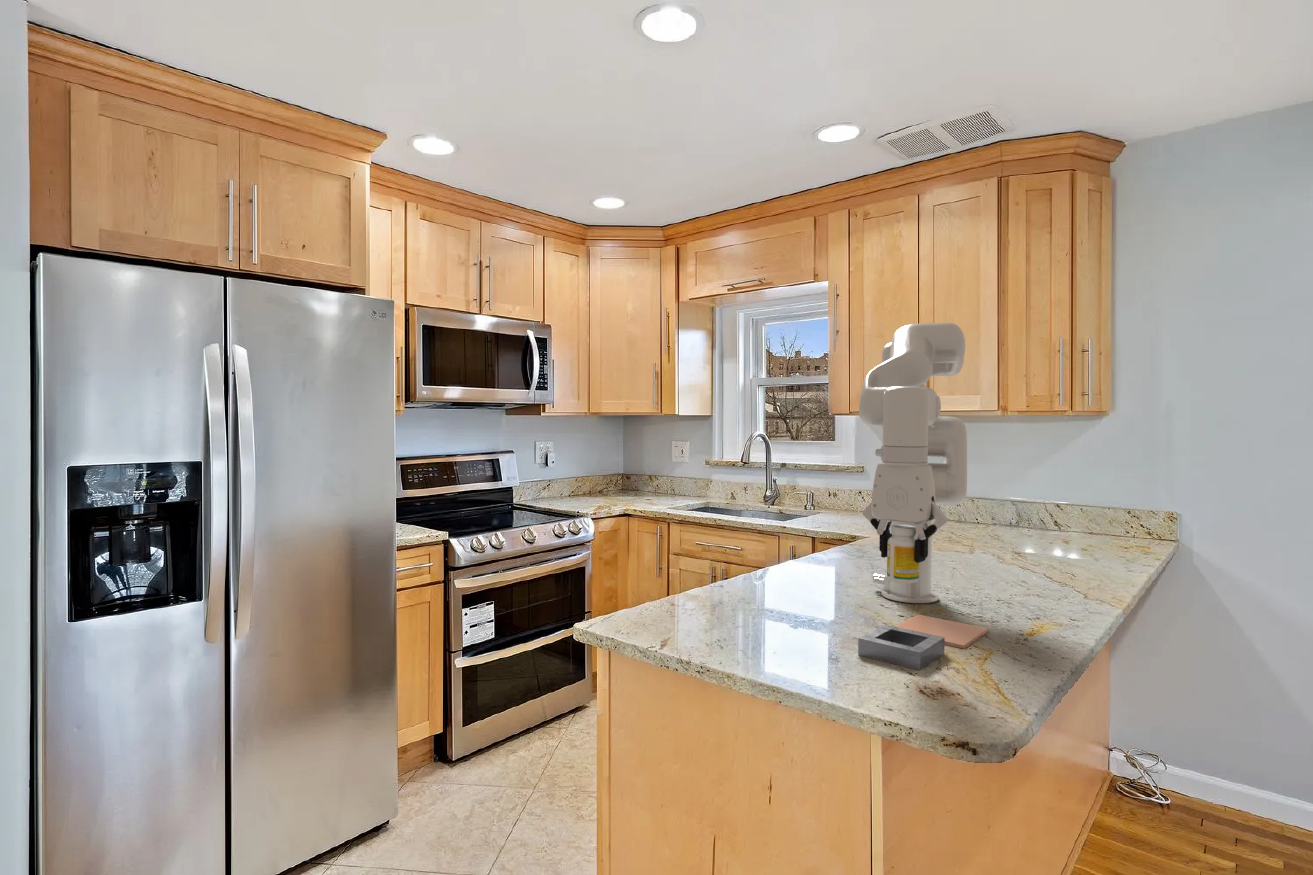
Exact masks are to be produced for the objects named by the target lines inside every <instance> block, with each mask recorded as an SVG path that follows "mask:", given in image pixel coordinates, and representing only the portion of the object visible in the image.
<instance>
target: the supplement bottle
mask: <svg viewBox="0 0 1313 875" xmlns="http://www.w3.org/2000/svg"><path fill="white" fill-rule="evenodd" d="M892 534H893V536H892V537H890V538H889V539H888V543H887V557H886V575H887V579H888V580H890V581H893V582H897V583H916V582H917V581H918V579H919V563H917V562H916V561H915V540H916V538H914V536H915V534H916V528H915V526H910V525H893V526H892Z"/></svg>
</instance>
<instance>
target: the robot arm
mask: <svg viewBox="0 0 1313 875" xmlns="http://www.w3.org/2000/svg"><path fill="white" fill-rule="evenodd" d="M965 353H966V339H965V335H964V332H963V330H962V328H961V327H960V326H959V325H958V324H956V323H952V322H934V323H932V322H930V323H929V322H928V323H927V322H926V323H911V324H906V325H904V326H901V327H900V328H898V329H897V330H896V331H895V332H894V334H893V335H892V338H891V342H889V343H887V344H886V345H884V347H883V348H882V352H881V362H882V363H880V364H879V365H877V366H875V367H874V368H873V369H871V370H869V372H868V373H867V375H866V376H865V377H864V380H863V382H862V385H861V390H860V395H859V402H858V413H859V417H860V419H861V421H862V422H863V424H865V425H867V426H869V427H875V428H882V445H881V448H876V449H875V452H874V453H875V456H876V457H880V459H881V461H882V462H881V463H877V464H876V469H875V473H874V479H873V485H872V486H873V487H872V492H871V493H872V494H871V502H870V503H869V505H868V506H866V507H865V508H864V510H863V511H862V516H863V517H864V518H865V519H866V520H868V522H869V523H870V524H871V526H872V527H873V528H874V529H875V530H876V533H877V535H879V544H878V545H879V552H880V557H881V558H887V543H888V539H889V538H890V537H892V536H893V534H892V526H893V525H910V526H915V528H916V534H915V536H914V538H916V540H915V561H916V562H917V563H919V579H918V581H917V582H916V583H897V582H893V581H890V580H888V579H887V574H886V575H883V574H881V573H874V574H873V575H872V582H873V583H874V584H880V585H882V586H883V587H882V588H881V590H880V591H881V596H882V597H884V598H885V599H889V600H891V601H896V602H901V603H907V604H908V603H909V604H930V603H935V602H937V601H938V600H939V593H938V592H937V591H935V590H932V571H933V570H932V569H933V568H932V566H933V565H932V561H933V560H932V559H933V558H932V557H933V535H934V534H935V533H936V532H938V531H939V530H940V529H942V527H944V526H945V525H947V524H948V523H949V519H948V518H947V516H946V515H945V514H944V513H943V512H942V510H941V509H940V508H939V505H940V506H957V505H960V504H962V503H963V502H965V499H966V496H967V490H968V435H967V434H968V433H967V428H966V425H965V422H964V421H963V420H962V419H961V418H960V417H959V418H958V417H956V416H944V415H943V416H941V409H942V407H941V406H942V403H941V398H940V396H939V395H938V394H937V393H936V391H935V389H933V388H931V387H927V386H926V385H925V384H926V383H928V381H929V380H930V378H931V377H952V376H956V375H958V374H959V373H960V372H961V370H962V369H963V366H964V361H965V355H966V354H965ZM928 458H941V459H943V460H945V461H946V463H943V462H942V463H939V462H934V463H933V462H932V463H931V462H928V461H929V460H928ZM937 505H938V506H937ZM934 519H935V521H934V522H932V521H933V520H934Z"/></svg>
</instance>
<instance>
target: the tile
mask: <svg viewBox="0 0 1313 875" xmlns="http://www.w3.org/2000/svg"><path fill="white" fill-rule="evenodd" d="M894 627H899V628H903V629H908V630H913V631H917V632H922V633H927V634H931V635H936V636H941V637H945V645H946V646H950V647H956V648H958V649H959V648H960V649H966V648H967V647H968V646H969V645H972V644H973V643H974V642H975V641H977V640H978V639H980V638H981V637H982V636H985V635H986V633H989V628H988V627H983V626H979V625H974V624H973V625H972V624H970V623H969V624H968V623H963V622H958V621H954V620H948V619H943V618H938V617H933V616H929V615H925V614H924V615H923V614H915V615H914V616H912V617H910V618H908V619H906V620H904V621H902V622H900V623H899V624H897V625H895V626H894Z"/></svg>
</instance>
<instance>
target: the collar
mask: <svg viewBox="0 0 1313 875" xmlns="http://www.w3.org/2000/svg"><path fill="white" fill-rule="evenodd" d="M857 640H858V643H857V644H858V645H857V646H858V647H857V655H858V656H861V657H865V658H869V659H873V660H876V661H881V662H885V663H890V664H892V665H897V666H900V667H905V668H909V669H912V670H913V669H914V670H916V671H922V670H923V669H925V668H926V667H928V666H929V665H930V664H932V663H933V662H935V661H937V660H938V659H939V658H941V657H942V656H944V655H945V645H946V644H945V637H941V636H936V635H931V634H927V633H922V632H917V631H913V630H908V629H903V628H899V627H895V626H894V625H888V624H884V625H882V626H879V627H877V628H876V629H873V630H872V631H870V632H867V633H865V634H863V635H861V636H860V637H858V639H857Z"/></svg>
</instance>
